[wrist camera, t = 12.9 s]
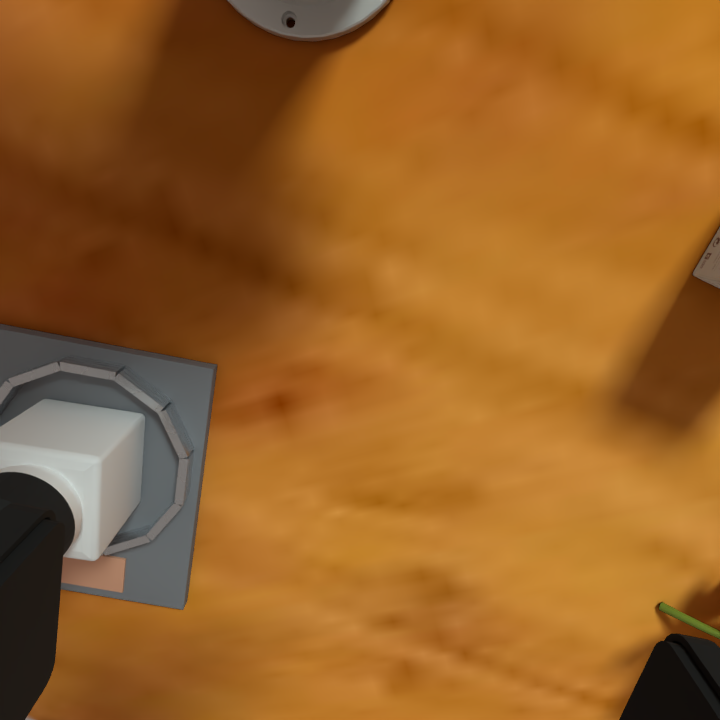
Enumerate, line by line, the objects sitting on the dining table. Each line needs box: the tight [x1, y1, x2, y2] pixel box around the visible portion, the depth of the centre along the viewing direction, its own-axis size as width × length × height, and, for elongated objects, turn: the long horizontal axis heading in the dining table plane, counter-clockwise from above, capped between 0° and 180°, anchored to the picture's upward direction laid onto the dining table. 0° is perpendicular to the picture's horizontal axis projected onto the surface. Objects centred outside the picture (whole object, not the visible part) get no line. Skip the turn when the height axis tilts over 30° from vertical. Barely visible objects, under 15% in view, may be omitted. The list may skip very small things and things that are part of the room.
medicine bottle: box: [0, 399, 145, 561], centre depth 34 cm, size 7×7×12 cm
